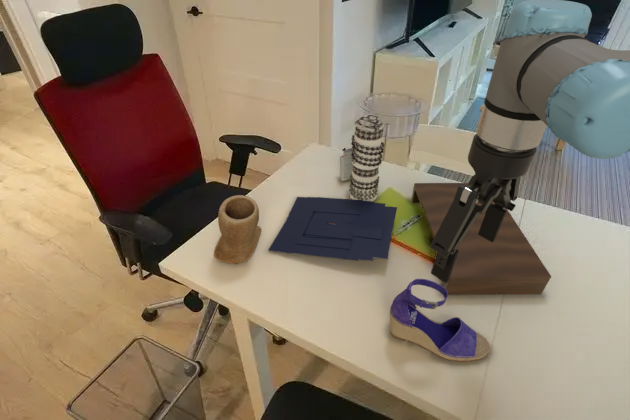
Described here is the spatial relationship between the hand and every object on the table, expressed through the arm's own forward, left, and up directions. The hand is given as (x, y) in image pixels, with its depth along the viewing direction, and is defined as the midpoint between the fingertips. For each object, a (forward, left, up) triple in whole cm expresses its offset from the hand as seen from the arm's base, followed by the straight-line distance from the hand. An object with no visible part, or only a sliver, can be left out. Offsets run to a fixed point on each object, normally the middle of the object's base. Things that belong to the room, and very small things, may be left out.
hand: (464, 256), depth 61 cm
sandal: (0, 0, -24) cm, 24 cm away
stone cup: (+49, +15, -24) cm, 56 cm away
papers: (+37, -7, -24) cm, 44 cm away
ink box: (+53, -31, -24) cm, 66 cm away
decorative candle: (+44, -25, -24) cm, 56 cm away
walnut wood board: (+12, -31, -24) cm, 41 cm away
